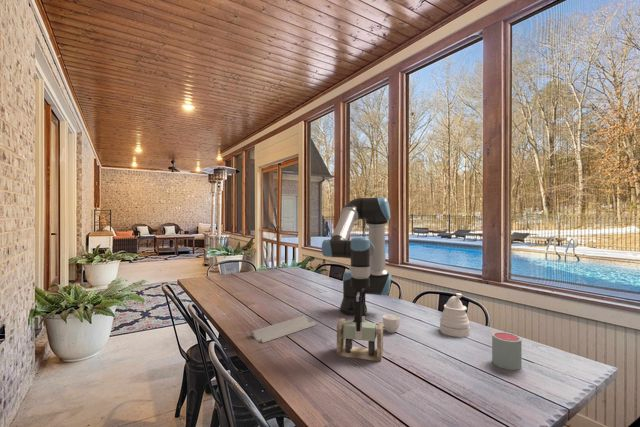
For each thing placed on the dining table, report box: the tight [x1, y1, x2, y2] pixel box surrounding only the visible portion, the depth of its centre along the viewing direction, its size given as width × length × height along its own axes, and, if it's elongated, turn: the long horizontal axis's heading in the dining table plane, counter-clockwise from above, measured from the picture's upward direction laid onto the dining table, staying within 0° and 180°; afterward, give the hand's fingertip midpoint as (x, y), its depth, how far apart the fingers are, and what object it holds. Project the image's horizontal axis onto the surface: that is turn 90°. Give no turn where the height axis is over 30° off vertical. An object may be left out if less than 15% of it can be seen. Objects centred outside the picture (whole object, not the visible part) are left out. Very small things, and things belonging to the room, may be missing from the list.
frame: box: [336, 317, 384, 362], centre depth 123 cm, size 17×8×12 cm, turn 74°
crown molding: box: [248, 315, 317, 344], centre depth 149 cm, size 31×12×4 cm, turn 134°
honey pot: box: [439, 292, 471, 338], centre depth 147 cm, size 13×13×18 cm
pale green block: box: [344, 320, 377, 343], centre depth 124 cm, size 12×6×5 cm, turn 75°
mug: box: [491, 331, 523, 371], centre depth 117 cm, size 14×9×10 cm
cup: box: [382, 313, 401, 334], centre depth 149 cm, size 8×10×7 cm
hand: (360, 335), depth 124 cm, fingers closed on pale green block, 6 cm apart
